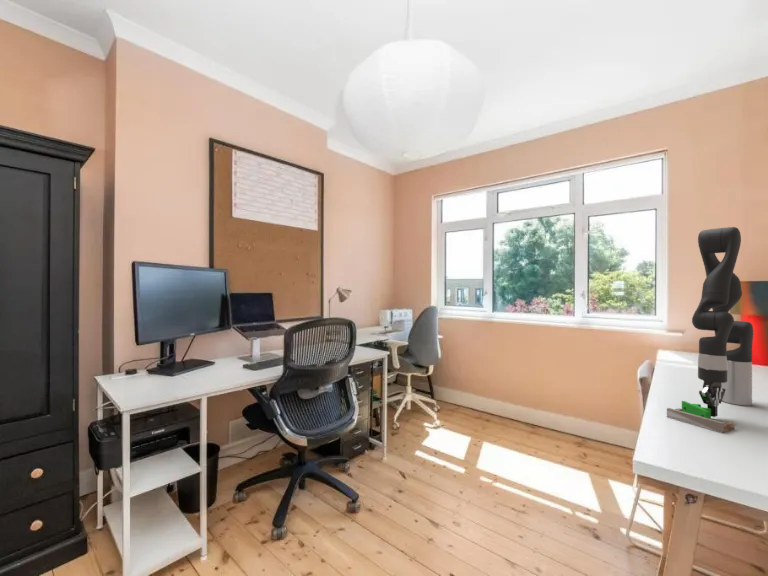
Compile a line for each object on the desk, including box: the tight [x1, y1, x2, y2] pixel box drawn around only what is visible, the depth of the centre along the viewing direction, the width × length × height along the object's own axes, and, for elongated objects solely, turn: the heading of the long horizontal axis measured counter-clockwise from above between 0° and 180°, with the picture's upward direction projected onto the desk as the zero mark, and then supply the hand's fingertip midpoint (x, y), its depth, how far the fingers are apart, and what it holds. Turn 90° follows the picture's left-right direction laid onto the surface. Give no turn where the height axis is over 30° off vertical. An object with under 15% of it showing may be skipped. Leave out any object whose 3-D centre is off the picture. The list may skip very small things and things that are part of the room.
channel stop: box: [666, 407, 735, 434], centre depth 116 cm, size 8×15×3 cm, turn 24°
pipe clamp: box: [681, 400, 712, 419], centre depth 120 cm, size 11×4×5 cm, turn 172°
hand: (712, 415), depth 120 cm, fingers closed
